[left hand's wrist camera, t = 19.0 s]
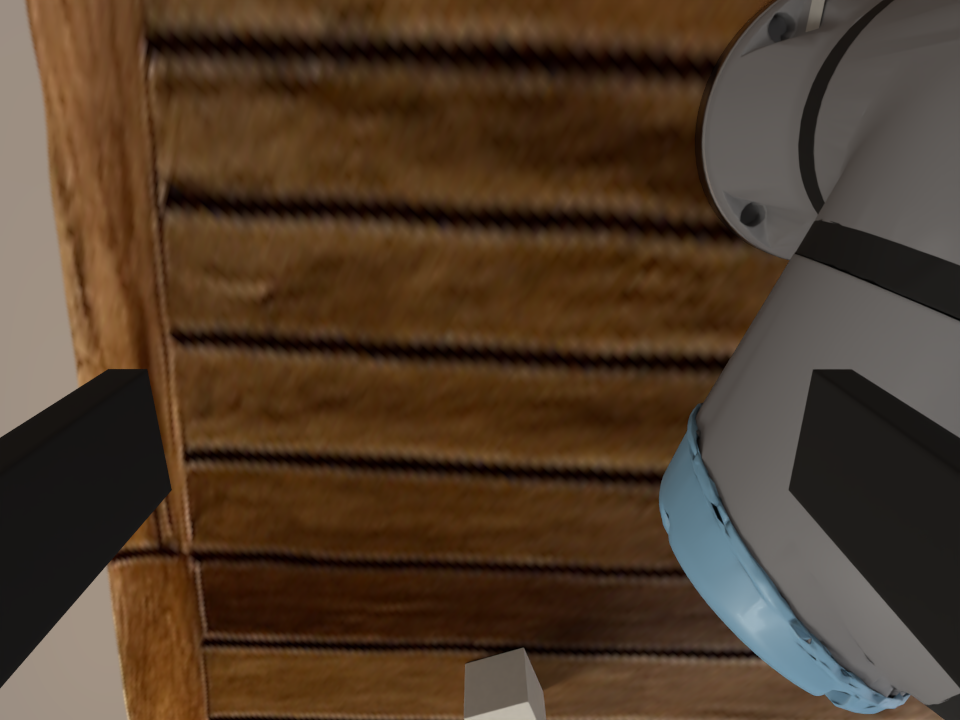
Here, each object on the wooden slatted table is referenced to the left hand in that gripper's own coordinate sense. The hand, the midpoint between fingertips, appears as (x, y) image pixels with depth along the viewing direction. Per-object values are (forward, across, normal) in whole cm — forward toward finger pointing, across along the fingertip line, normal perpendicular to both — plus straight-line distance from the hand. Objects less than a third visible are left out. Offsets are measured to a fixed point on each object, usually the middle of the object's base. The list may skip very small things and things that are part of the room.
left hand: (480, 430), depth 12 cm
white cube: (+27, -2, +36) cm, 45 cm away
